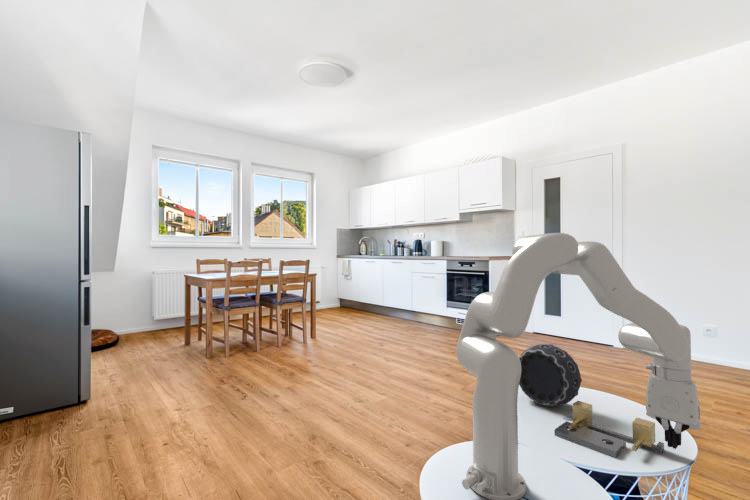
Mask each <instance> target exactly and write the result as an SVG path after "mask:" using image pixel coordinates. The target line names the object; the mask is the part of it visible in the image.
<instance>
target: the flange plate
mask: <svg viewBox="0 0 750 500" xmlns="http://www.w3.org/2000/svg"><path fill="white" fill-rule="evenodd" d="M571 423H572V422H570V421H564V422H563V423H562V424H560V425H559V426H558V427H556V428H555V429H554V431H553V432H554V436H555V437H559V438H562V439H565V440H567V441H569V442H572V443H575V444H578V445H580V446H583V447H585V448H589V449H591V450H593V451H597V452H599V453H602V454H605V455H607V456H610V457H611V458H612V457H613V458H615V459H617V458H618V456H619V455H620V454H621V453H622V452H623V451H624V450H625V449H626V448H627V442H626V441H624V440H621V439H618V438H615V437H612V436H609V435H606V434H603V433H600V432H597V431H594V430H591V429H588V428H585V427H582V426H579V425H577V426H575V427H574V428H573V429H569V425H570V424H571Z"/></svg>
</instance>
